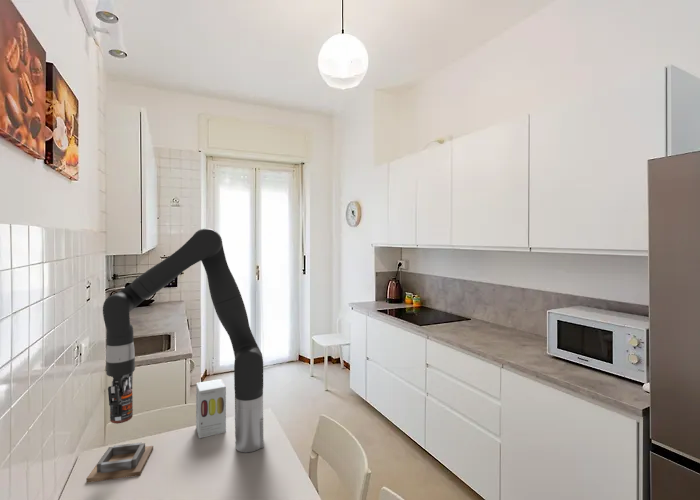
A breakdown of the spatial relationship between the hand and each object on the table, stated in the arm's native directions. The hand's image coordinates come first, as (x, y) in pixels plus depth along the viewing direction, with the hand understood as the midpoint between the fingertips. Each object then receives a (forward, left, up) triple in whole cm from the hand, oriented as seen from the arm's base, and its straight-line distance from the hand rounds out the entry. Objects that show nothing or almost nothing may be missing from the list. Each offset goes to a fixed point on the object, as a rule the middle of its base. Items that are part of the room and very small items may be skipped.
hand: (121, 411), depth 115 cm
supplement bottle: (0, 0, -3) cm, 3 cm away
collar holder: (0, 0, -17) cm, 17 cm away
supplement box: (-24, -16, -17) cm, 33 cm away
